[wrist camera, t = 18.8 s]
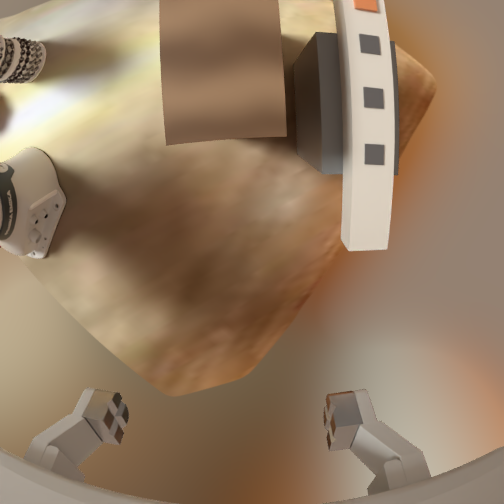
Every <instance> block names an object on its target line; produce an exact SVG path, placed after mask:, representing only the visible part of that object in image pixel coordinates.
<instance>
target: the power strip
mask: <svg viewBox="0 0 504 504" xmlns="http://www.w3.org/2000/svg"><path fill="white" fill-rule="evenodd" d="M333 4H334V11H335V20H336V29H337V39H338V49H339V61H340V76H341V93H342V118H343V199H342V225H341V240H342V242H343V243H344V245H345V246H346V248H347V249H348V251H362V250H383V249H387V246H388V238H389V229H390V219H391V207H392V193H393V177H394V145H395V120H394V89H393V73H392V60H391V50H390V41H389V33H388V25H387V18H386V11H385V5H384V0H333Z"/></svg>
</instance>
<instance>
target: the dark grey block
mask: <svg viewBox="0 0 504 504" xmlns="http://www.w3.org/2000/svg"><path fill="white" fill-rule="evenodd" d="M390 50H391V60H392V73H393V89H394V120H395V145H394V175H398V164H399V95H398V76H397V63H396V52H395V42H394V41H390ZM293 70H294V87H295V107H296V130H297V154H298V155H299V156H300V157H301V158H303V159H304V160H305V161H307V162H308V163H309V164H310V165H312V166H313V167H314V168H315V169H317V170H318V171H319V172H320V173H321V174H343V118H342V93H341V76H340V61H339V49H338V39H337V34H336V33H324V32H316V33H315V34H314V35H313V37H312V38H311V40H310V41H309V43H308V44H307V45H306V47H305V48H304V50H303V51H302V53H301V54H300V56H299V57H298V59H297V60H296V62H295V63H294V65H293Z"/></svg>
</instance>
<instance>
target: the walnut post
mask: <svg viewBox="0 0 504 504" xmlns="http://www.w3.org/2000/svg"><path fill="white" fill-rule="evenodd" d="M160 61H161V82H162V99H163V113H164V125H165V137H166V145H174V144H183V143H192V142H202V141H213V140H225V139H239V138H258V137H287V128H286V106H285V87H284V70H283V55H282V41H281V28H280V16H279V4H278V0H160Z"/></svg>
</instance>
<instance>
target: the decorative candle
mask: <svg viewBox="0 0 504 504" xmlns="http://www.w3.org/2000/svg"><path fill="white" fill-rule="evenodd" d="M45 60H46V49H45V46H44V45H43V44H42V43H39V42H36V41H32V42H31V40H28V41H27V40H26V39H20V38H19V37H18V38H15V37H14V38H3V37H2V35H0V83H2V82H3V83H7V82H8V83H28V82H31V81H33V80H34V79H35V78H37V76H38V75H39V74H40V72H41V71H42V69H43V66H44V64H45Z"/></svg>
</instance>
